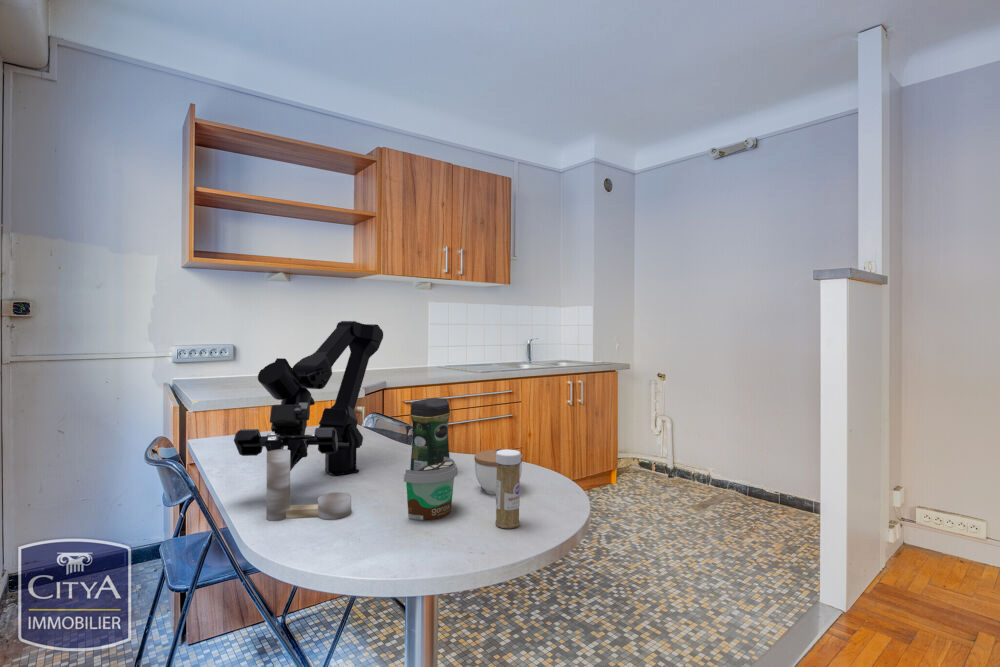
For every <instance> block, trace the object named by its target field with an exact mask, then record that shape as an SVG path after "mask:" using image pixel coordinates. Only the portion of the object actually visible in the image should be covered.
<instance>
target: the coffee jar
mask: <svg viewBox="0 0 1000 667" xmlns="http://www.w3.org/2000/svg"><path fill="white" fill-rule="evenodd" d="M409 415H410V416H409V417H410V419H411V423H412V424H411V425H412V442H411V443H412V444H411V454H410V455H411V456H410V469H409V470H412V471H417V470H419V469H421V468H423V467H425V466H427V465H434V464H438V463H440V462H443V461H444V457H448V458H450V445H449V420H450V415H451V411H450V403H449V401H448V400H447V399H446V398H441V397H430V398H425V399H421V400H420V399H419V400H415V401H413V402H412V403H411V404H410V414H409Z"/></svg>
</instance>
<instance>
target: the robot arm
mask: <svg viewBox="0 0 1000 667" xmlns="http://www.w3.org/2000/svg"><path fill="white" fill-rule="evenodd" d="M383 339H384V331H383V329H382V328H381V327H380V326H379V324H377V323H376V324H373V323H372V324H370V323H369V324H368V323H367V324H366V323H365V324H364V323H361V322H359V321H356V320H341V321H339V322H337V323H336V328H334V330H333V331H332V332H331V333H330V334H329V335H328V337H327V338H326V339H325V340H324V341H323V342H322V344H320V346H319V347H318V348H317V350H316V351H314V352H313V353H312V354H309V355H308V356H305V357H303V358H301V359H300V360H299V361H297V362H296V363H295V364H294V365H293V366H291V365H290V364H289V363H290V362H288V360H287V358H278V357H276V359H275V361H273V362H271V363H269V364H266V366H264V367H263V368H262V369H260V370H259V372H258V373H257V380H258V382H259V383H260V384H261V385H262V387H263V388H264V389H265V390H266V391H267V392H268V393H269V395H270V396H271V397H272V398H273V399H274V400H278V401H280V404H274V405H273V404H272V405H271V407H270V416H269V423H270V424H271V427H270V430H271V432H272V433H267V435H263V436H261V435H262V434H261V431H260V429H259V428H255V429H252V428H249V429H245V428H243V429H239V430H238V431H237V432H236V433H235V435H234V439H233V442H234V444H235V447H236V449H237V451H238V454H239V455H240V456H242V457H243V456H244V457H249V456H250V457H251V456H252V457H253V456H255V457H256V456H258V455H260V454H261V453H262V451H263V450H264V449H263V448H265V449H266V453H267V452H268V451H272V450H278V449H284V448H285V447H287V448H286V449H287V450H290V472H292V470H293V468H295V466H296V465H297V464H298V462H300V461H301V460H302V459H304V458H307V457H308V448H309V446H317V451H318V452H319V453H320V454H323V455H324V456H325V457H324V459H325V460H324V470H325V471H326V472H327V473H328V474H330V475H331V476H334V477H335V476H340V475H346V474H348V475H349V474H352V473H358V472H359V471H360V469H359V468H358V467H357V449H359V448H361V447H362V446H363V441H364V436H363V434H362V433H361V432H360V430H359V428H358V427H357V426H358V422H359V421H358V418H357V417H358V416H357V414H356V411H355V408H356V405H357V402H358V398H359V394H360V391H361V388H362V385H363V381H364V378H365V374H366V371H367V367H368V364H369V361H370V358H371V357H372V356H373V355H374V354H375V353H377V352H378V350H379V348H380V345H381V344H382V342H383ZM347 348H349V350H350V352H349V353H350V354H349V356H348V359H347V363H346V366H345V370H344V373H343V376H342V379H341V382H340V386H339V389H338V392H337V396H336V399H335V402H334V404H333V405H332V406H331V407H329V408H328V407H325V408H324V409H323V411H322V414H321V418H320V420H319V422H318V424H319V426H318V427H316V428H315V430H314V434H306V429H307V425H308V421H309V420H310V416H311V415H310V414H311V412H310V411H311V406H314V405H315V403H316V402H315V400H314V398H313V397H312V392H310V391H309V390H323V389H324V388H325V387H326V386H327V384H328V383H329V381H330V379H331V377H332V375H333V371H332V370H333V368H332V367H333V366H334V364H335V363H336V362H337V360H338V359H339V358H340V357H341V355H342V354H343V353H344V352H345V351H346V350H347Z"/></svg>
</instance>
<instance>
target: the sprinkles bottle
mask: <svg viewBox="0 0 1000 667" xmlns="http://www.w3.org/2000/svg"><path fill="white" fill-rule="evenodd" d="M521 455H522V453H521V452H520V451H519V450H517V449H501V450H499V451H497V452H496V464H497V478H496V494H495V508H496V509H495V510H496V511H495V515H496V517H495V521H494V522H495V526H497V527H499V528H502V529H506V530H507V529H514V528H517V527H518V526H519V525H520V506H521V505H520V504H521V502H520V500H521V495H520V494H521V489H520V488H521V485H520V479H521V477H519V476H520V462H521Z"/></svg>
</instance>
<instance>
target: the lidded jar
mask: <svg viewBox="0 0 1000 667" xmlns="http://www.w3.org/2000/svg"><path fill="white" fill-rule="evenodd" d="M499 450H502V447H496V449H488V450H482V451H478V452H477V453H475V454H474V460H473V461H474V470H475V477H476V480H477V483H478V484H479V486H481V487H482V488H483V490H484V492H485V491H486V492H485V493H487V492H488V494H490V493H491V494H490V495H496V478H497V464H496V452H497V451H499ZM523 461H524V456H523V455H522V454H521V462H520V476H519V477H520V478H521V477H522V476H521V475H522V472H523Z"/></svg>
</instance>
